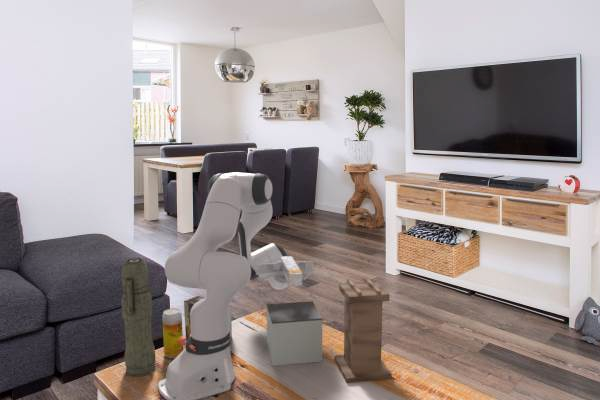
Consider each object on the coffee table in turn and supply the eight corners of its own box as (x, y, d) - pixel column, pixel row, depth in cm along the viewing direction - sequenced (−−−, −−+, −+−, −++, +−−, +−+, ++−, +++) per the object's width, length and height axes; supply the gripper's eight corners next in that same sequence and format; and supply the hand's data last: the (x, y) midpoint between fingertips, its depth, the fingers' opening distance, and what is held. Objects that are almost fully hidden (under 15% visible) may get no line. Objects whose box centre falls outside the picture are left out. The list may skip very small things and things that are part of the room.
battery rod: (280, 267, 167) (280, 256, 166) (291, 266, 168) (291, 255, 167) (290, 287, 147) (289, 274, 146) (302, 286, 148) (302, 273, 147)
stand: (334, 360, 152) (334, 278, 147) (375, 356, 154) (377, 276, 150) (346, 383, 138) (347, 294, 134) (391, 378, 141) (394, 291, 136)
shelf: (267, 344, 163) (266, 304, 160) (312, 340, 165) (312, 301, 163) (272, 366, 148) (272, 322, 146) (322, 361, 151) (322, 318, 149)
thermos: (159, 359, 153) (153, 254, 147) (151, 378, 141) (144, 265, 136) (131, 360, 152) (124, 255, 147) (120, 379, 140) (113, 266, 135)
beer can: (178, 359, 152) (176, 315, 150) (161, 358, 153) (158, 314, 151) (186, 351, 158) (184, 308, 156) (169, 349, 159) (167, 307, 157)
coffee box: (216, 346, 162) (215, 301, 159) (201, 352, 157) (200, 306, 154) (200, 338, 167) (198, 295, 165) (185, 344, 163) (183, 300, 160)
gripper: (254, 265, 175) (257, 256, 162) (308, 262, 179) (315, 253, 166) (255, 282, 173) (258, 274, 160) (310, 279, 176) (317, 271, 164)
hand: (288, 263), depth 163 cm, fingers closed on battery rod, 4 cm apart
